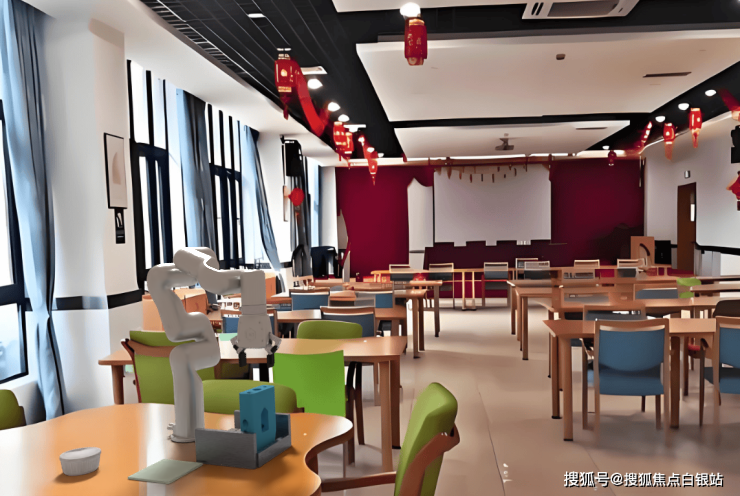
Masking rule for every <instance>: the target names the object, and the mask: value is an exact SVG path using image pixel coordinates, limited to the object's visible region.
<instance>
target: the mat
mask: <svg viewBox="0 0 740 496" xmlns="http://www.w3.org/2000/svg"><path fill="white" fill-rule="evenodd" d="M203 465H204V464H203V463H198V462H196V461H195V462H194V461H187V460H177V459H170V458H162V459H160V460H159V461H156V462H154V463H153V464H151V465H149V466H147V467H145V468H143V469H140V470H138V471H137V472H135V473H133V474H131V475H128V476H127V480H134V481H140V482H148V483H158V484H164V485H165V484H167V485H169V484H171V483H173V482H175V481H177V480H178V479H180V478H182V477H184V476H186V475H188V474H189V473H191V472H193V471H195V470H196V469H198V468H200V467H202V466H203Z"/></svg>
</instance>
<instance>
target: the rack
mask: <svg viewBox="0 0 740 496" xmlns="http://www.w3.org/2000/svg"><path fill="white" fill-rule="evenodd" d="M275 414H276V435H275V441H273V442H272V443H270V444H268V445H267V446H265V447H263V448H262V449H260V450H258V451H257V444H256V433H253V432H242V431H230V430H229V429H228V430H227V429H218V428H217V429H216V428H207V427H205V428H197V429H195V441H194V442H195V443H194V444H195V462H198V463H203V465H211V466H221V467H230V468H239V469H247V470H256V469H257V468H261V467H262V466H264V465H265V464H267V463H269V462H270V461H271V460H273V459H274V458H276V457H278V455H280V454H282V453H284V452H285V451H286V450H288V449H289V448H291V446H292V428H291V427H292V426H291V423H292V421H291V419H292V418H291V413H284V412H275ZM233 419H234V422H233V423H234V428H236V429H240V409H235V410H234V411H233Z"/></svg>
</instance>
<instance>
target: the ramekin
mask: <svg viewBox="0 0 740 496" xmlns="http://www.w3.org/2000/svg"><path fill="white" fill-rule="evenodd" d="M101 454H102V449H101V448H100V447H96V446H87V447H77V448H73V449H69V450H66V451H64V452H62V453H61V454H60V455H58V457H59V458H58V459H59V461H60V465H61V469H62V474H65V475H66V476H68V477H69V476H70V477H74V476H83V475H86V474H90V473H93V472H95V471H96V470H97V469H98V468H99V466H100V461H101Z"/></svg>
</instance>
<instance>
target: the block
mask: <svg viewBox="0 0 740 496" xmlns="http://www.w3.org/2000/svg"><path fill="white" fill-rule="evenodd" d="M275 390H276V388H275V385H272V384H271V385H268V384H261V385H258V386H255V387H252V388H250V389H246V390H244V391H240V392H239V393H238V400H239V410H240V429H241V431H242V432H253V433H256V444H257V451H258V450H260V449H262V448H263V447H265V446H267V445H268V444H270V443H272V442H273V441H275V435H276V414H275V413H276V396H275V395H276V393H275Z"/></svg>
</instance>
